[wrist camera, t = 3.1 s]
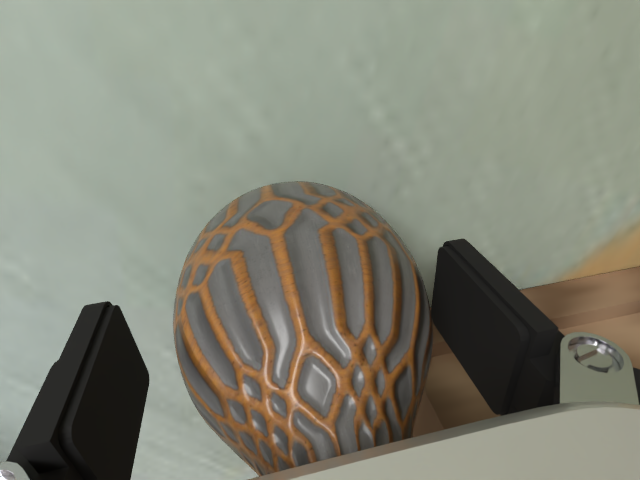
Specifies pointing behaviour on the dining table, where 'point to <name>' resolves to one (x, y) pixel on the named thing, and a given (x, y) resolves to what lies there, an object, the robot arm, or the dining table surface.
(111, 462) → the robot arm
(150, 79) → the dining table surface
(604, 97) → the dining table surface
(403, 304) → the vase
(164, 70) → the dining table surface
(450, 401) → the stand
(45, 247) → the dining table surface
